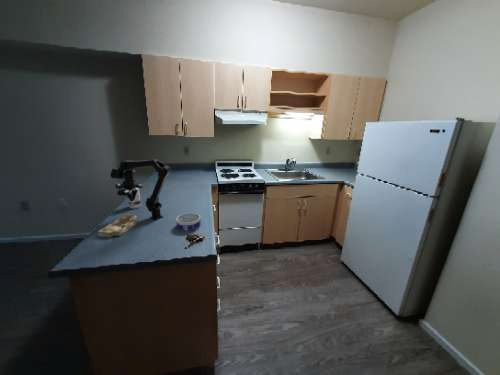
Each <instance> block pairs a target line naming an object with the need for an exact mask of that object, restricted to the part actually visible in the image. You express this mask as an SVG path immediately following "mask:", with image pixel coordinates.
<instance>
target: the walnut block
mask: <svg viewBox="0 0 500 375" xmlns="http://www.w3.org/2000/svg"><path fill="white" fill-rule="evenodd" d="M119 218H120V222H121V223H122V224H127V223H128V222H130V219H131V218H133V216H132V214H129V213H128V214H127V213H125V214H124V215H122V216H120V217H119Z"/></svg>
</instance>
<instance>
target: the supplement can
mask: <svg viewBox="0 0 500 375" xmlns="http://www.w3.org/2000/svg"><path fill="white" fill-rule="evenodd" d="M136 189H137V190H138V192H137V194H136V197H135V199H134V201H132V202H131V201H130V200H129V198H128V197H127V199H128V205H129V208H130V209H139V208H141V206H142V202H141V194H140V188H139V187H137V188H136Z"/></svg>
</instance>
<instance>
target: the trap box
mask: <svg viewBox="0 0 500 375" xmlns="http://www.w3.org/2000/svg"><path fill="white" fill-rule="evenodd" d="M136 225H138V217H137V215H134V216H132V218H131V219H130V222H128V223H127V224H122V223H121V222H120V217H119V218H118V219H116V220H115V221H113V222H111V223H109V224H108V225H106V226H105V227H103V228H101V229H100V230H98V231H97V235H98V237H103V238H113V237H121V236H123V235H125V233H127V232H128V231H130V230H131V229H132V228H133V227H135V226H136Z"/></svg>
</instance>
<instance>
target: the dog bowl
mask: <svg viewBox="0 0 500 375" xmlns="http://www.w3.org/2000/svg"><path fill="white" fill-rule="evenodd" d="M175 223H176V227H177V229H178V230H179V231H180V232H181V231H182V232H192V231H195V230H197V229H199V228H200V227H201V223H202V222H201V215H200V214H198V213H195V212H186V213H185V212H184V213H182V214H180V215H178V216H176V219H175Z"/></svg>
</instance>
